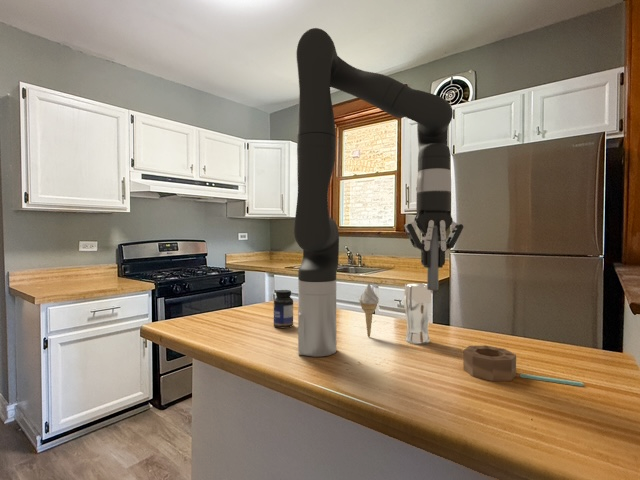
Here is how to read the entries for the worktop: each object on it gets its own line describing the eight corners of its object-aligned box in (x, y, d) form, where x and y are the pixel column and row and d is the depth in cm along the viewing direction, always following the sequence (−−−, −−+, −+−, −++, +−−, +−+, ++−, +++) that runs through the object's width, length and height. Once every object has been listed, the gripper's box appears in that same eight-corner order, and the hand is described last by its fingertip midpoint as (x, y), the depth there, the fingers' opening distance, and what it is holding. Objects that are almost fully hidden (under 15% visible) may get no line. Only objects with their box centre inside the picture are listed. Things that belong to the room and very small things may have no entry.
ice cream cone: (356, 338, 95) (356, 283, 95) (361, 333, 100) (361, 281, 100) (376, 340, 93) (376, 284, 93) (381, 335, 98) (381, 282, 98)
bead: (479, 381, 66) (479, 360, 66) (457, 364, 75) (457, 346, 75) (524, 380, 67) (524, 359, 67) (497, 363, 76) (497, 345, 76)
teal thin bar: (520, 377, 68) (520, 374, 68) (520, 375, 69) (520, 373, 69) (583, 386, 64) (583, 383, 64) (582, 385, 64) (582, 382, 64)
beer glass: (432, 345, 88) (432, 286, 88) (404, 344, 90) (404, 286, 90) (429, 338, 95) (429, 283, 95) (403, 336, 96) (403, 282, 96)
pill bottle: (270, 325, 109) (270, 290, 109) (286, 322, 113) (286, 288, 113) (279, 329, 104) (279, 292, 104) (297, 326, 108) (297, 291, 108)
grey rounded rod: (429, 290, 78) (430, 222, 78) (425, 288, 80) (426, 223, 80) (440, 290, 78) (440, 222, 78) (435, 288, 80) (436, 223, 80)
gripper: (409, 188, 75) (408, 269, 75) (471, 189, 76) (470, 268, 76) (398, 193, 82) (398, 266, 82) (455, 193, 83) (455, 266, 83)
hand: (433, 267), depth 79 cm, fingers closed on grey rounded rod, 2 cm apart
